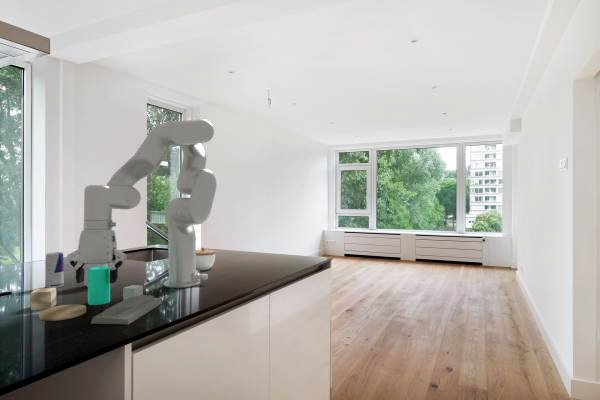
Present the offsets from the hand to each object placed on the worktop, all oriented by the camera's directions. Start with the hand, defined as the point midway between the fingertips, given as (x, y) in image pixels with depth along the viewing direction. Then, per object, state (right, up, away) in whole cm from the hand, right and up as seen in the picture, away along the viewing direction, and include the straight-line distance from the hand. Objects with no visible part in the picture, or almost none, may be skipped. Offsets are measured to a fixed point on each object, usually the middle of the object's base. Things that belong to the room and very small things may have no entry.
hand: (96, 282), depth 117 cm
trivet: (-3, -6, -12) cm, 13 cm away
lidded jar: (+18, -6, +55) cm, 59 cm away
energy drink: (-26, -6, +22) cm, 35 cm away
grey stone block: (+9, -6, +4) cm, 12 cm away
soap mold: (+14, -7, -10) cm, 19 cm away
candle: (0, -6, +1) cm, 6 cm away
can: (-12, -6, +23) cm, 27 cm away
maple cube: (-13, -6, -4) cm, 15 cm away
